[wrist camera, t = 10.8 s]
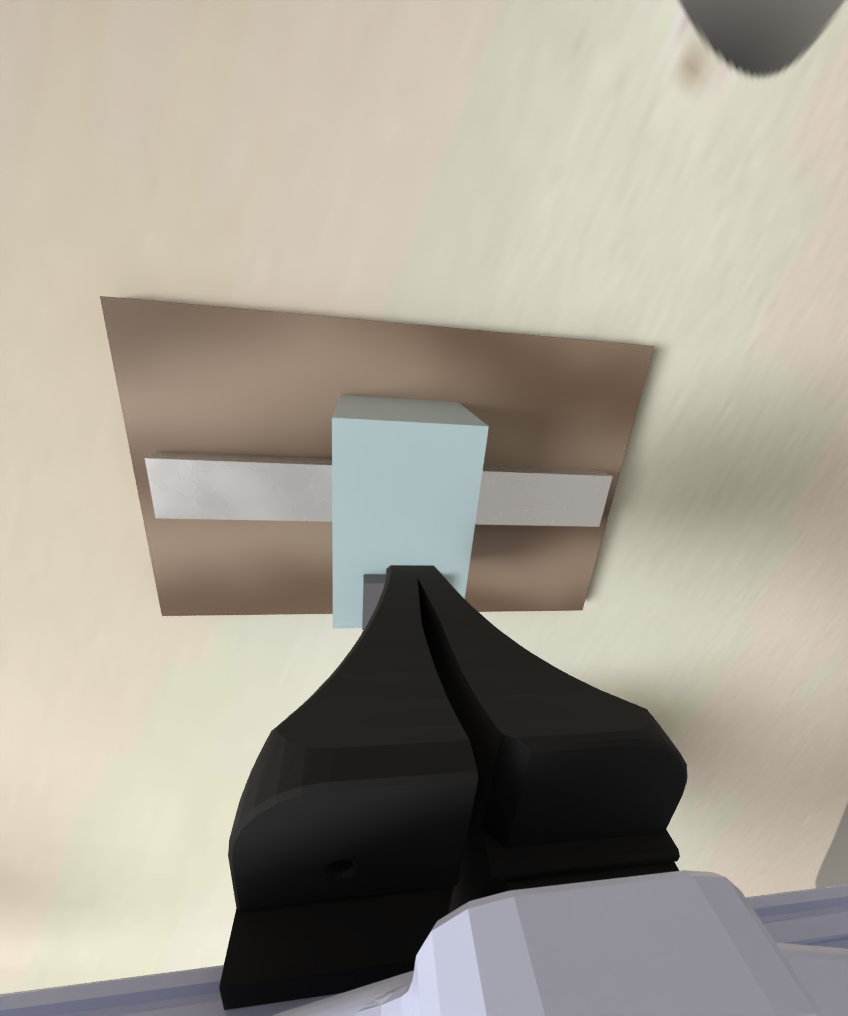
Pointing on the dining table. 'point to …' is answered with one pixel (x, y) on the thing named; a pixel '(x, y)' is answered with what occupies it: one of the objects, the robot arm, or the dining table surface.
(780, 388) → the dining table surface
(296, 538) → the rail board
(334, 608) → the module
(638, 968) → the robot arm
